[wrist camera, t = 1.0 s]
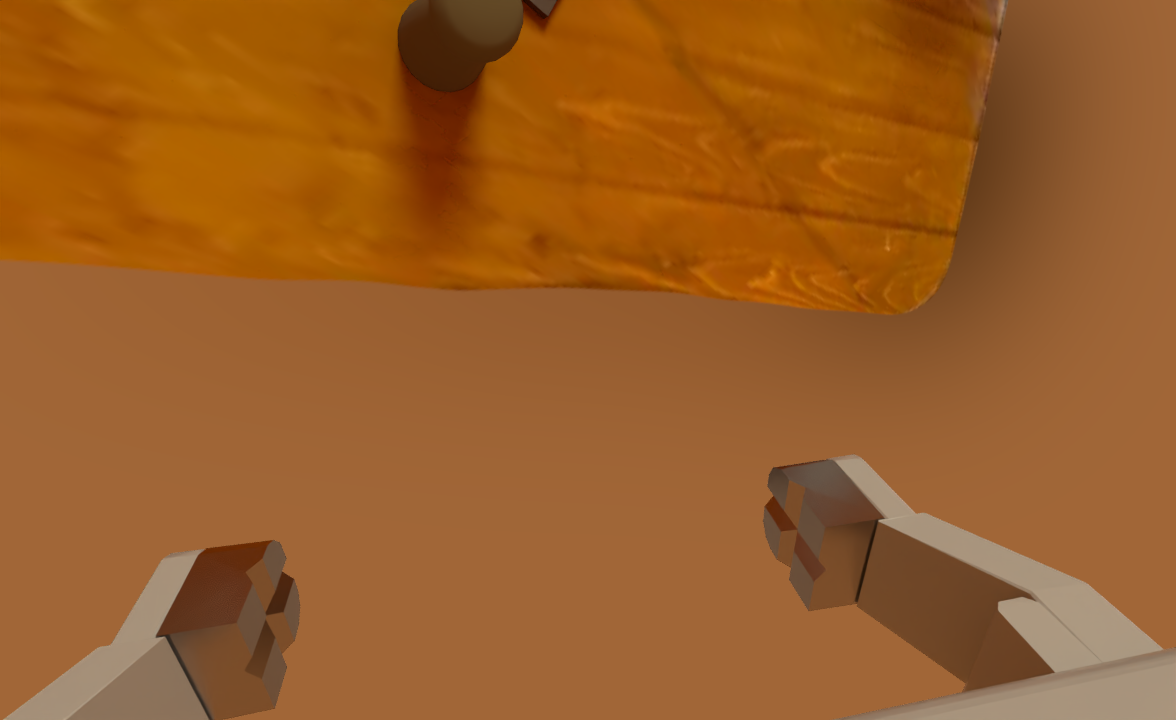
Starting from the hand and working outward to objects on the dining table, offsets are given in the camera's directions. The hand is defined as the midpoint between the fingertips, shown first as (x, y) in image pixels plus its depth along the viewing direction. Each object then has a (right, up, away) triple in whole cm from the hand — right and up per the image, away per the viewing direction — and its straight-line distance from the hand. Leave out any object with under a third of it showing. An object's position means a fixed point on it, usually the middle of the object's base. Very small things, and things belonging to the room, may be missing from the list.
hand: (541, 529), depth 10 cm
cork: (-9, +25, +32) cm, 41 cm away
